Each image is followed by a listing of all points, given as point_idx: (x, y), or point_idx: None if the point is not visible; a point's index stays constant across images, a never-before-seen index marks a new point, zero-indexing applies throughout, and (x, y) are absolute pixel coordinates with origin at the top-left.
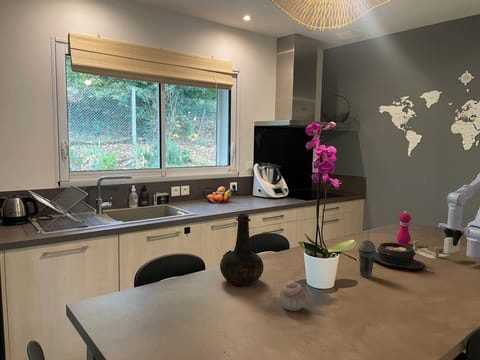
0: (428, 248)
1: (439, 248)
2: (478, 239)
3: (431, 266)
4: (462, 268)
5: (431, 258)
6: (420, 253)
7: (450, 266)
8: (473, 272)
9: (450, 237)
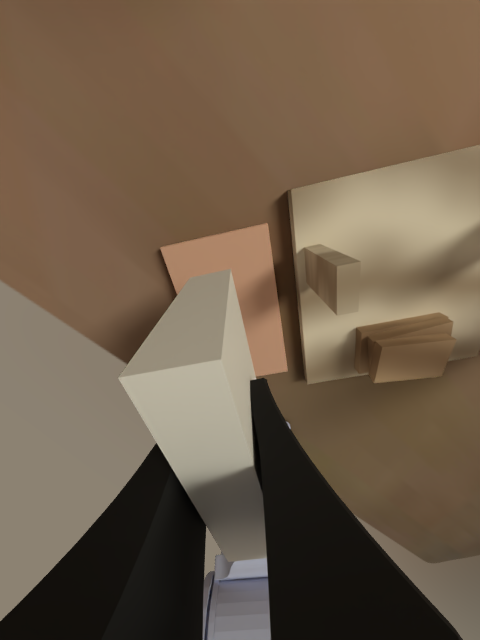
0: (443, 321)
1: (380, 366)
2: (228, 585)
3: (151, 34)
4: (110, 288)
5: (294, 190)
6: (430, 198)
7: (148, 238)
8: (40, 297)
9: (247, 482)
